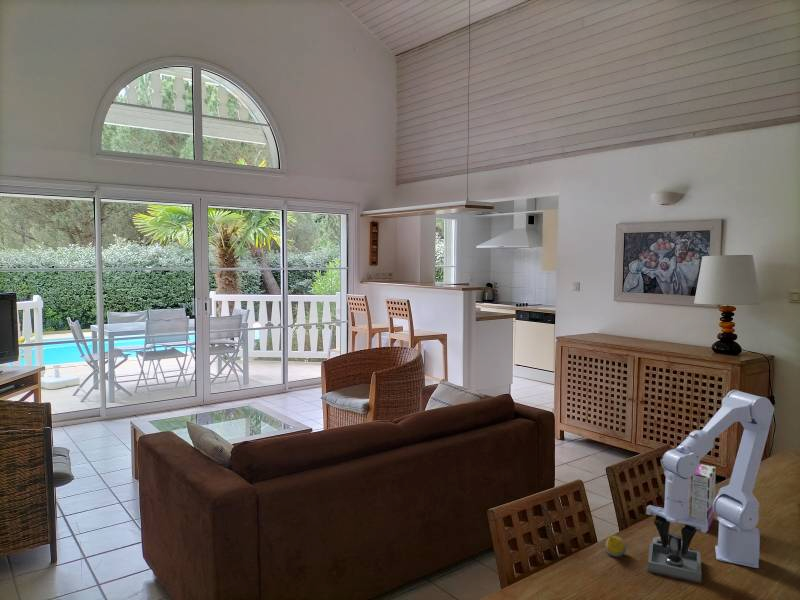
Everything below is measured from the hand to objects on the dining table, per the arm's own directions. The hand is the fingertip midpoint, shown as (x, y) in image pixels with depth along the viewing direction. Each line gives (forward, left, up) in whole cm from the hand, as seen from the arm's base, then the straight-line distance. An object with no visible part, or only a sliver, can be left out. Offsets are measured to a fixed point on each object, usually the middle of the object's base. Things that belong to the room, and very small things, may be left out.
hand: (674, 549), depth 147 cm
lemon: (+14, +2, -5) cm, 15 cm away
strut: (0, 0, -4) cm, 4 cm away
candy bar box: (-7, -32, -5) cm, 33 cm away
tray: (0, 0, -4) cm, 4 cm away
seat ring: (+1, -10, -4) cm, 11 cm away
